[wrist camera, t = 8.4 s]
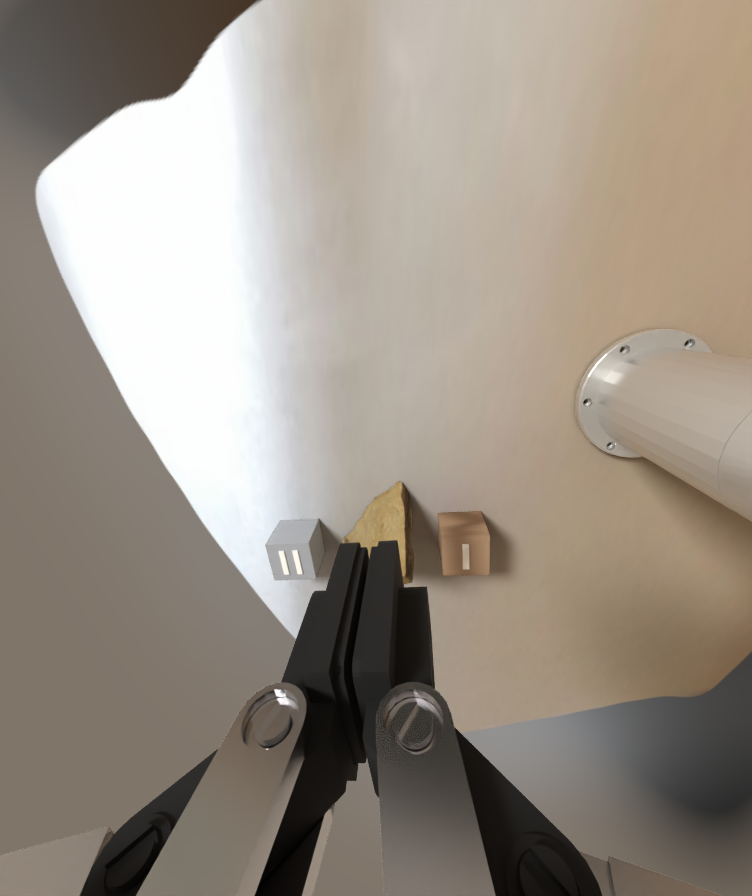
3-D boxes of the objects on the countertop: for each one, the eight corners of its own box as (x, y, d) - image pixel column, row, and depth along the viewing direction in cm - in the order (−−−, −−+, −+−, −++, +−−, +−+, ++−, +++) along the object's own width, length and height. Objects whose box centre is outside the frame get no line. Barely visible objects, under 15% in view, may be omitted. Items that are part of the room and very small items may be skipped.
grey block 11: (318, 518, 43) (308, 543, 38) (325, 552, 45) (315, 581, 40) (280, 520, 44) (264, 545, 39) (288, 553, 46) (274, 582, 41)
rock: (349, 583, 43) (428, 576, 40) (315, 593, 36) (409, 585, 33) (343, 496, 47) (415, 484, 44) (309, 488, 39) (395, 473, 36)
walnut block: (480, 510, 41) (490, 536, 36) (480, 547, 43) (489, 576, 38) (437, 512, 42) (441, 538, 37) (439, 548, 43) (443, 577, 39)
